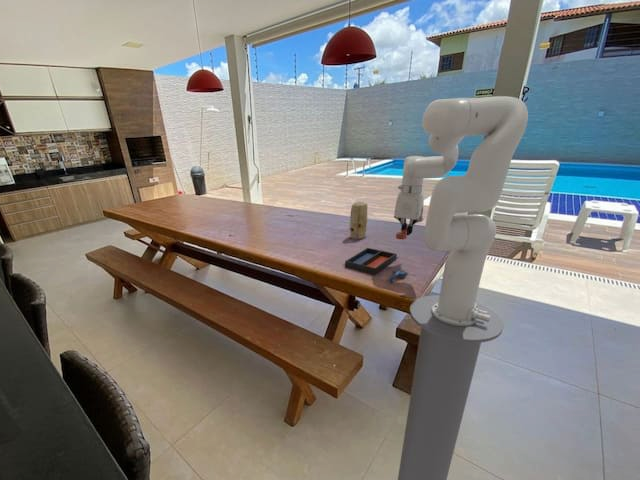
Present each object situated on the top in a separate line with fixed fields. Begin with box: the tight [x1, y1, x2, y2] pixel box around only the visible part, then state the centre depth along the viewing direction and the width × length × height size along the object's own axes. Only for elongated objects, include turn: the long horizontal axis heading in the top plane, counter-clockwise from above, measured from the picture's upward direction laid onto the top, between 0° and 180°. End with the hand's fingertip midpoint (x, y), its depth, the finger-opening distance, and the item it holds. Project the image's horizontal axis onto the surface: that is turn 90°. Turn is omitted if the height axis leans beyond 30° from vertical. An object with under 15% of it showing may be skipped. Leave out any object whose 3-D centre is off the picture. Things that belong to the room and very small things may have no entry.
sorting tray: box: [344, 247, 397, 276], centre depth 134 cm, size 14×20×3 cm
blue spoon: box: [389, 269, 407, 285], centre depth 119 cm, size 4×11×3 cm, turn 138°
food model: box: [349, 201, 368, 240], centre depth 161 cm, size 10×7×20 cm
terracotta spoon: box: [395, 228, 408, 240], centre depth 127 cm, size 4×11×3 cm, turn 137°
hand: (406, 233), depth 128 cm, fingers closed on terracotta spoon, 1 cm apart
